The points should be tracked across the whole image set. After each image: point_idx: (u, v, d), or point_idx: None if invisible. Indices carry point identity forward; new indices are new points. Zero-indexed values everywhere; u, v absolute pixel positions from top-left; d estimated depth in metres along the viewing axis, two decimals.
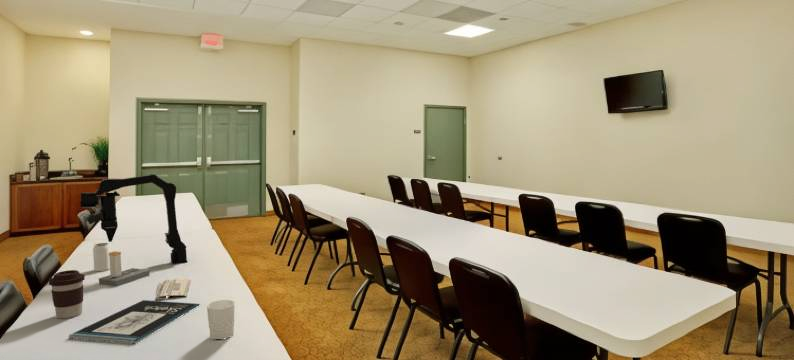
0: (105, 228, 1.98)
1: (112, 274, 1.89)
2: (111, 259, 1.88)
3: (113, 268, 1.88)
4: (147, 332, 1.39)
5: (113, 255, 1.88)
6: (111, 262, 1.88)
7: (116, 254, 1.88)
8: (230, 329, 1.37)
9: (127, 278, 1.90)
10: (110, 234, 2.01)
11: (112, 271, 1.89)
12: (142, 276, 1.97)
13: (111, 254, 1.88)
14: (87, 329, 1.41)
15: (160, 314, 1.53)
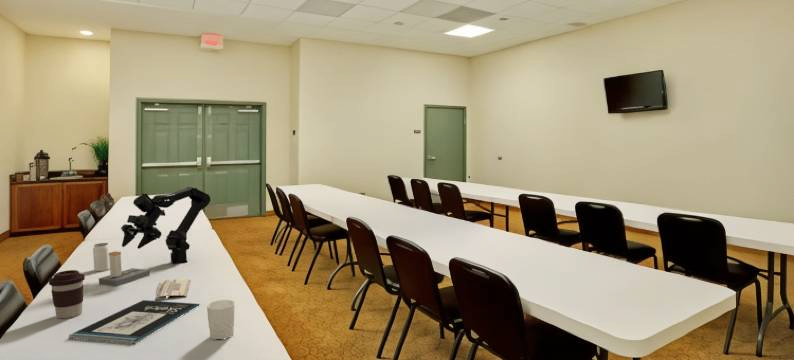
0: (150, 233, 1.97)
1: (112, 274, 1.89)
2: (111, 259, 1.88)
3: (113, 268, 1.88)
4: (147, 332, 1.39)
5: (113, 255, 1.88)
6: (111, 262, 1.88)
7: (116, 254, 1.88)
8: (230, 329, 1.37)
9: (127, 278, 1.90)
10: (145, 241, 1.97)
11: (112, 271, 1.89)
12: (142, 276, 1.97)
13: (111, 254, 1.88)
14: (87, 329, 1.41)
15: (160, 314, 1.53)
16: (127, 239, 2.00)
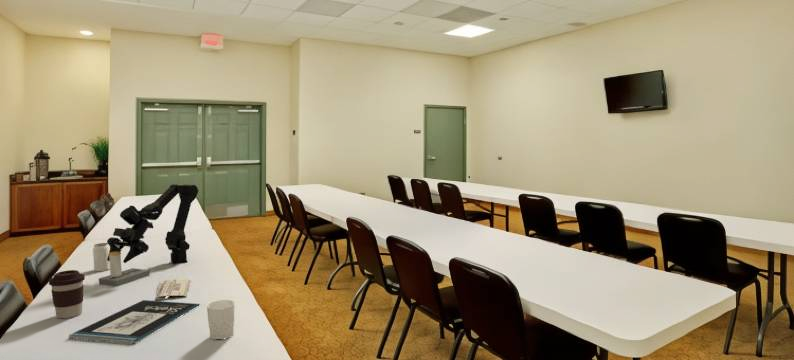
0: (137, 247, 1.90)
1: (112, 274, 1.89)
2: (111, 259, 1.88)
3: (113, 268, 1.88)
4: (147, 332, 1.39)
5: (113, 255, 1.88)
6: (111, 262, 1.88)
7: (116, 254, 1.88)
8: (230, 329, 1.37)
9: (127, 278, 1.90)
10: (131, 255, 1.90)
11: (112, 271, 1.89)
12: (142, 276, 1.97)
13: (111, 254, 1.88)
14: (87, 329, 1.41)
15: (160, 314, 1.53)
16: None
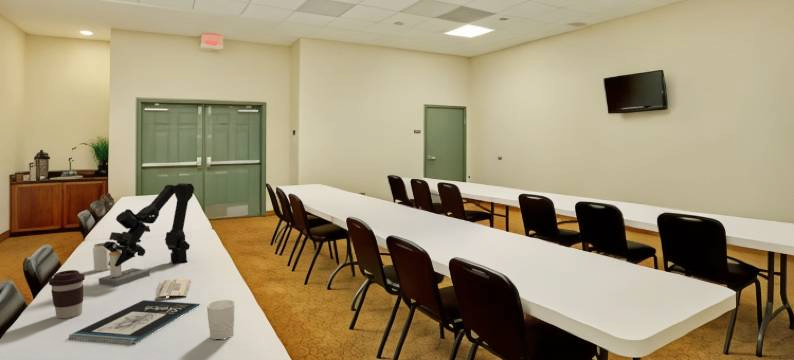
0: (128, 251, 1.90)
1: (112, 274, 1.89)
2: (111, 259, 1.88)
3: (113, 268, 1.88)
4: (147, 332, 1.39)
5: (113, 255, 1.88)
6: (111, 262, 1.88)
7: (116, 254, 1.88)
8: (230, 329, 1.37)
9: (127, 278, 1.90)
10: (123, 259, 1.90)
11: (112, 271, 1.89)
12: (142, 276, 1.97)
13: (111, 254, 1.88)
14: (87, 329, 1.41)
15: (160, 314, 1.53)
16: None
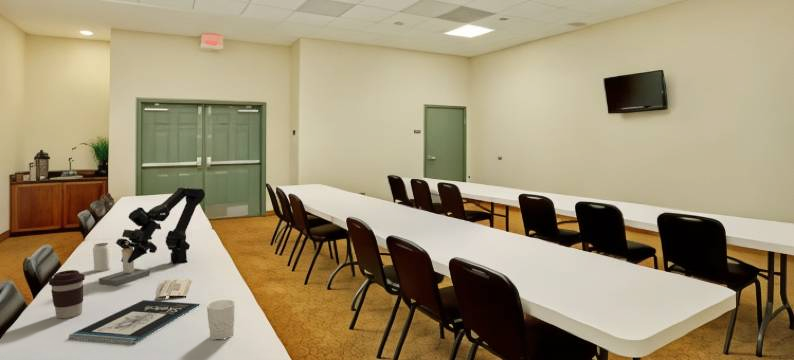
0: (141, 247, 1.95)
1: (125, 270, 1.94)
2: (124, 255, 1.94)
3: (126, 264, 1.94)
4: (147, 332, 1.39)
5: (126, 252, 1.93)
6: (124, 258, 1.94)
7: (129, 251, 1.94)
8: (230, 329, 1.37)
9: (127, 278, 1.90)
10: (135, 256, 1.95)
11: (125, 267, 1.94)
12: (142, 276, 1.97)
13: (124, 251, 1.94)
14: (87, 329, 1.41)
15: (160, 314, 1.53)
16: None
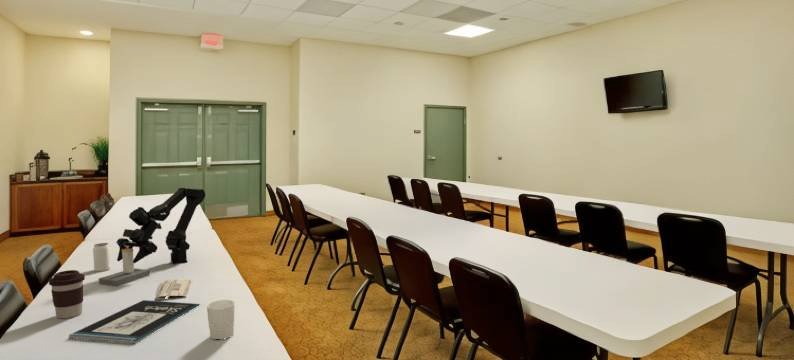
0: (146, 248, 1.95)
1: (125, 270, 1.94)
2: (124, 255, 1.94)
3: (126, 264, 1.94)
4: (147, 332, 1.38)
5: (126, 252, 1.93)
6: (124, 258, 1.94)
7: (129, 251, 1.94)
8: (230, 329, 1.37)
9: (127, 278, 1.90)
10: (140, 256, 1.95)
11: (125, 267, 1.94)
12: (142, 276, 1.97)
13: (124, 251, 1.94)
14: (87, 329, 1.41)
15: (160, 314, 1.53)
16: None
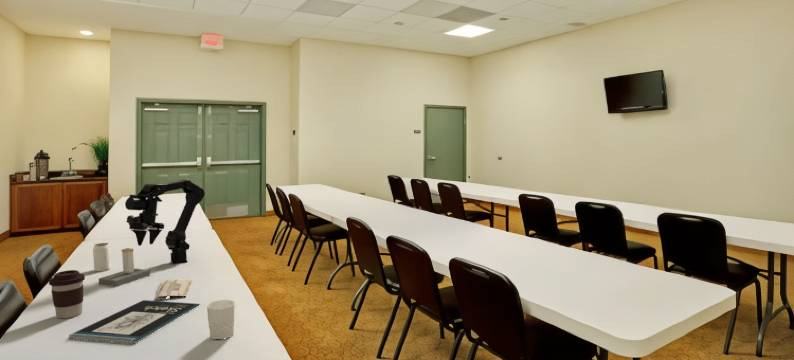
0: (133, 230, 1.97)
1: (125, 270, 1.94)
2: (124, 255, 1.94)
3: (126, 264, 1.94)
4: (147, 332, 1.38)
5: (126, 252, 1.93)
6: (124, 258, 1.94)
7: (129, 251, 1.94)
8: (230, 329, 1.37)
9: (127, 278, 1.90)
10: (139, 237, 1.99)
11: (125, 267, 1.94)
12: (142, 276, 1.97)
13: (124, 251, 1.94)
14: (87, 329, 1.41)
15: (160, 314, 1.53)
16: (152, 236, 2.10)
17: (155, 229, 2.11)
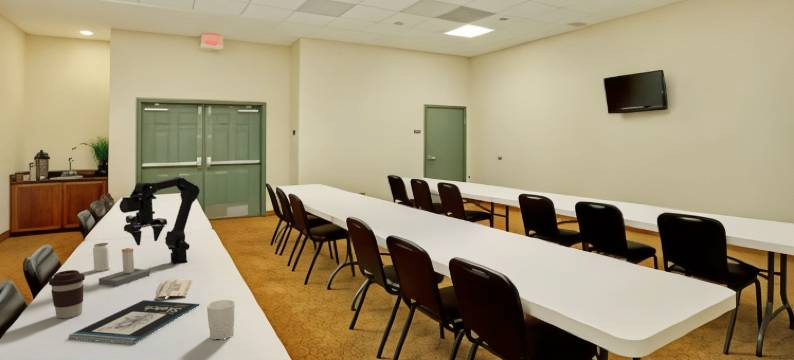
0: (128, 231, 1.98)
1: (125, 270, 1.94)
2: (124, 255, 1.94)
3: (126, 264, 1.94)
4: (147, 332, 1.38)
5: (126, 252, 1.93)
6: (124, 258, 1.94)
7: (129, 251, 1.94)
8: (230, 329, 1.37)
9: (127, 278, 1.90)
10: (136, 238, 2.00)
11: (125, 267, 1.94)
12: (142, 276, 1.97)
13: (124, 251, 1.94)
14: (87, 329, 1.41)
15: (160, 314, 1.53)
16: (155, 233, 2.10)
17: (157, 226, 2.10)
